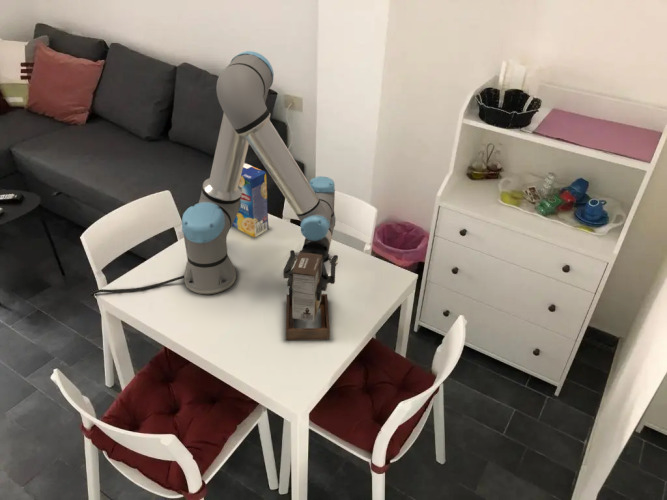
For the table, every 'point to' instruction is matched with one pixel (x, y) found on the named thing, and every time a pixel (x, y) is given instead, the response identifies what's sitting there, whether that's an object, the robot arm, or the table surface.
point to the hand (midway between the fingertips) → (304, 295)
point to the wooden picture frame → (307, 332)
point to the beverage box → (252, 202)
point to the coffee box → (306, 286)
